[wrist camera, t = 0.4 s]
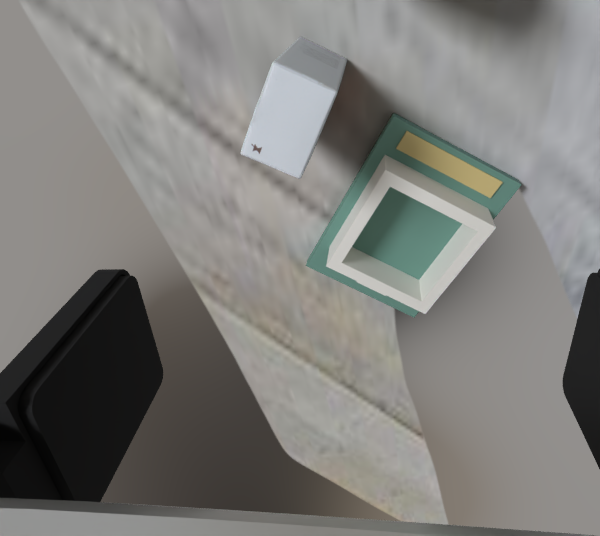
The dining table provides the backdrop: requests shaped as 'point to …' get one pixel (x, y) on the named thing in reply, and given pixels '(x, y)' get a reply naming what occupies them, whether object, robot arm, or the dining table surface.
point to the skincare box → (294, 107)
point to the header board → (411, 218)
